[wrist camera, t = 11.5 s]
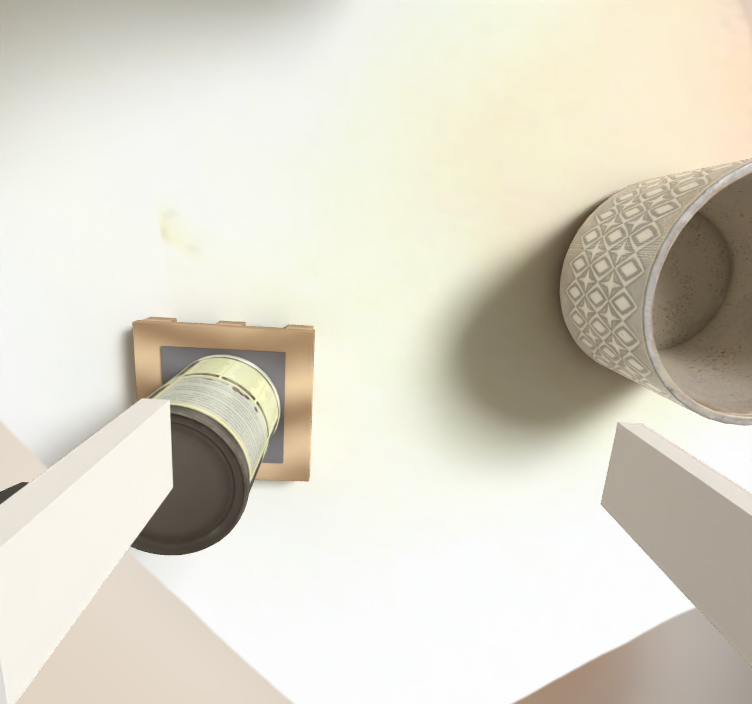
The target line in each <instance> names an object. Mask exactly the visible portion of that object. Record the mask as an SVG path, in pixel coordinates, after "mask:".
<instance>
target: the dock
mask: <svg viewBox="0 0 752 704" xmlns="http://www.w3.org/2000/svg"><path fill="white" fill-rule="evenodd" d="M132 323H133V339H134V356H135V372H136V389H137V402H138V401H139V400H140V399H142V398H145V399H146V398H147V397H148V396H150V395H151V394H152V393H154V392H155V391H156V390H157V389H159V388H160V387H162V386H163V385H164V384H166V383H167V382H168V381H170V380H171V379H172V378H173V377H175V376H176V375H178V374H179V373H180V372H181V371H182V370H183V369H184V368H185V367H186V366H188V365H189V364H190V363H192V362H194V361H196V360H198V359H200V358H203V357H206V356H211V355H231V356H236V357H240V358H243V359H245V360H248V361H249V362H251V363H253V364H255V365H256V366H258V367H259V368H260V369H261V370H262V371H264V372H265V373H266V374H267V375H268V377H269V378H270V380H271V381H272V383H273V384H274V386H275V388H276V390H277V393H278V396H279V400H280V409H281V410H280V418H279V423H278V426H277V428H276V430H275V432H274V434H273V436H272V438H271V441H270V443H269V446H268V448H267V450H266V453H265V455H264V457H263V460H262V462H261V465H260V467H259V470H258V473H257V475H256V478H255V480H282V481H309V477H310V455H311V426H312V398H313V369H314V340H315V330H313V326H303V325H288V326H287V327H286V328H274V327H256V326H245V322H232V321H219V322H217V323H216V324H202V323H184V322H177V321H176V318H161V317H149V318H146V319H144V320H137V321H135V322H132Z"/></svg>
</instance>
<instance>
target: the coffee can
mask: <svg viewBox="0 0 752 704" xmlns="http://www.w3.org/2000/svg"><path fill="white" fill-rule="evenodd" d="M146 399H164V400H170V420H171V446H172V472H173V488H172V490H171V491H170V492H169V494H168V495H167V497H166V498H165V499H164V501H163V502H162V503H161V505H160V506H159V507H158V509H157V510H156V512H155V513H154V514H153V516H152V517H151V518H150V520H149V521H148V523H147V524H146V525H145V527H144V528H143V529H142V531H141V532H140V534H139V535H138V536H137V538H136V539H135V540H134V542H133V543H132V544H131V547H133V548H136V549H138V550H141V551H145V552H148V553H153V554H160V555H183V554H189V553H194V552H197V551H200V550H203V549H206V548H208V547H210V546H212V545H214V544H215V543H217V542H219V541H220V540H221V539H223V538H224V537H225V536H226V535H227V534H229V533H230V531H231V530H232V529H233V528H234V527H235V525H236V524H237V523H238V521H239V520H240V518H241V516H242V514H243V512H244V509H245V507H246V504H247V500H248V496H249V492H250V490H251V487H252V485H253V482H254V480H255V478H256V475H257V473H258V470H259V467H260V465H261V462H262V460H263V457H264V455H265V453H266V450H267V448H268V446H269V443H270V441H271V438H272V436H273V434H274V432H275V430H276V428H277V426H278V423H279V418H280V410H281V409H280V400H279V396H278V393H277V390H276V388H275V386H274V384H273V383H272V381H271V380H270V378H269V377H268V375H267V374H266V373H265V372H264V371H262V370H261V369H260V368H259V367H258V366H256V365H255V364H253V363H251V362H249V361H248V360H245V359H243V358H240V357H236V356H231V355H211V356H206V357H203V358H200V359H198V360H196V361H194V362H192V363H190V364H189V365H188V366H186V367H185V368H184V369H183V370H182V371H181V372H180V373H179V374H178V375H176V376H175V377H173V378H172V379H171V380H170V381H168V382H167V383H166V384H164V385H163V386H162V387H160V388H159V389H157V390H156V391H155V392H154V393H152V394H151V395H150V396H148V397H147V398H146Z"/></svg>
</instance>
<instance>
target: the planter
mask: <svg viewBox="0 0 752 704" xmlns="http://www.w3.org/2000/svg"><path fill="white" fill-rule="evenodd" d="M560 302H561V309H562V313H563V317H564V321H565V323H566V325H567V328H568V330H569V332H570V334H571V336H572V337H573V339H574V340H575V342H576V343H577V345H578V346H579V347H580V348H581V349H582V350H583V351H584V352H585V353H586V354H587V355H588V356H589V357H590V358H592V359H593V360H594V361H596V362H597V363H599V364H601V365H603V366H604V367H606V368H608V369H610V370H612V371H614V372H616V373H618V374H620V375H622V376H624V377H626V378H628V379H630V380H632V381H634V382H636V383H638V384H640V385H642V386H644V387H646V388H648V389H650V390H652V391H654V392H656V393H658V394H660V395H662V396H663V397H665V398H667V399H669V400H671V401H673V402H675V403H677V404H679V405H681V406H683V407H685V408H687V409H689V410H691V411H693V412H695V413H697V414H699V415H701V416H703V417H706V418H708V419H712V420H715V421H719V422H722V423H727V424H736V425H752V158H751V159H746V160H741V161H737V162H732V163H727V164H722V165H717V166H712V167H707V168H702V169H697V170H692V171H688V172H683V173H678V174H673V175H668V176H663V177H658V178H653V179H648V180H644V181H641V182H639V183H636V184H633V185H630V186H628V187H626V188H625V189H623V190H621V191H619V192H617V193H615V194H614V195H613V196H611V197H610V198H609V199H607V200H606V201H605V202H603V203H602V204H601V205H600V206H599V207H598V208H597V209H596V210H595V211H594V212H593V213H592V214H591V215H590V216H589V217H588V218H587V219H586V221H585V222H584V223H583V225H582V226H581V227H580V229H579V230H578V232H577V233H576V235H575V237H574V239H573V241H572V242H571V244H570V246H569V249H568V252H567V254H566V257H565V260H564V263H563V268H562V273H561V279H560Z"/></svg>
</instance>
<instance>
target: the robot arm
mask: <svg viewBox="0 0 752 704" xmlns="http://www.w3.org/2000/svg"><path fill="white" fill-rule="evenodd" d="M172 488H173V472H172V446H171V420H170V400H164V399H145V398H142V399H140V400H139V401H138V402H136V403H135V404H134V405H132V406H131V407H130V408H128V409H127V410H126V411H124V412H123V413H122V414H120V415H119V416H118V417H116V418H115V419H114V420H112V421H111V422H110V423H108V424H107V425H106V426H104V427H103V428H102V429H100V430H99V431H98V432H96V433H95V434H94V435H92V436H91V437H90V438H88V439H87V440H86V441H84V442H83V443H82V444H80V445H79V446H78V447H76V448H75V449H74V450H72V451H71V452H70V453H68V454H67V455H66V456H64V457H63V458H62V459H60V460H59V461H58V462H56V463H55V464H54V465H52V466H51V467H50V468H48V469H47V470H46V471H44V472H43V473H42V474H40V475H39V476H38V477H36V478H35V479H34V480H32V481H31V482H30V483H27V482H21V483H19V484H17V485H14V486H12V487H10V488H8V489H6V490H3V491H1V492H0V704H15V703H16V702H17V701H18V699H19V698H20V697H21V695H22V694H23V693H24V691H25V690H26V688H27V687H28V686H29V684H30V683H31V682H32V680H33V679H34V677H35V676H36V675H37V673H38V672H39V671H40V669H41V668H42V666H43V665H44V663H45V662H46V661H47V660H48V658H49V657H50V655H51V654H52V653H53V651H54V650H55V649H56V647H57V646H58V645H59V643H60V642H61V640H62V639H63V638H64V636H65V635H66V634H67V632H68V631H69V629H70V628H71V627H72V625H73V624H74V623H75V621H76V620H77V619H78V617H79V616H80V614H81V613H82V612H83V610H84V609H85V607H86V606H87V605H88V603H89V602H90V600H91V599H92V598H93V597H94V595H95V594H96V592H97V591H98V590H99V588H100V587H101V586H102V584H103V583H104V581H105V580H106V579H107V577H108V576H109V575H110V573H111V572H112V571H113V569H114V568H115V566H116V565H117V564H118V562H119V561H120V560H121V558H122V557H123V555H124V554H125V553H126V551H127V550H128V549H129V547H130V546H131V544H132V543H133V542H134V540H135V539H136V538H137V536H138V535H139V534H140V532H141V531H142V529H143V528H144V527H145V525H146V524H147V523H148V521H149V520H150V518H151V517H152V516H153V514H154V513H155V512H156V510H157V509H158V507H159V506H160V505H161V503H162V502H163V501H164V499H165V498H166V497H167V495H168V494H169V492H170V491H171V490H172ZM601 505H602V506H603V507H604V508H605V509H606V511H607V512H608V513H609V514H610V515H611V516H612V517H613V518H614V519H615V520H616V521H617V522H618V523H619V525H620V526H621V527H622V528H623V529H624V530H625V531H626V532H627V533H628V534H629V535H630V536H631V537H632V539H633V540H634V541H635V542H636V543H637V544H638V545H639V546H640V547H641V548H642V549H643V550H644V552H645V553H646V554H647V555H648V556H649V557H650V558H651V559H652V560H653V561H654V562H655V563H656V564H657V566H658V567H659V568H660V569H661V570H662V571H663V572H664V573H665V574H666V575H667V576H668V577H669V579H670V580H671V581H672V582H673V583H674V584H675V585H676V586H677V587H678V588H679V589H680V590H681V591H682V593H683V594H684V595H685V596H686V597H687V598H688V599H689V600H690V601H691V602H692V603H693V604H694V606H695V607H696V608H697V609H698V610H699V611H700V612H701V613H702V614H703V615H704V616H705V617H706V618H707V619H708V621H709V622H710V623H711V624H712V625H713V626H714V627H715V628H716V629H717V630H718V631H719V633H721V634H722V636H723V637H724V638H725V639H726V640H727V641H728V642H729V643H730V644H731V645H732V647H733V648H734V649H735V650H736V651H737V652H738V653H739V654H740V655H741V656H742V657H743V658H744V659H745V661H746V662H747V663H748V664H749V665H750V666H751V667H752V494H751V493H750V492H748V491H746V490H745V489H743V488H742V487H740V486H739V485H737V484H736V483H734V482H732V481H731V480H729V479H728V478H726V477H725V476H723V475H722V474H720V473H718V472H717V471H715V470H714V469H712V468H711V467H709V466H708V465H706V464H704V463H703V462H701V461H700V460H698V459H697V458H695V457H694V456H692V455H690V454H689V453H687V452H686V451H684V450H683V449H681V448H680V447H678V446H676V445H675V444H673V443H672V442H670V441H669V440H667V439H666V438H664V437H662V436H661V435H659V434H658V433H656V432H655V431H653V430H652V429H650V428H648V427H647V426H645V425H644V424H640V423H620V422H618V424H617V429H616V434H615V439H614V443H613V448H612V453H611V457H610V462H609V467H608V472H607V476H606V481H605V486H604V491H603V495H602V500H601Z"/></svg>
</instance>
